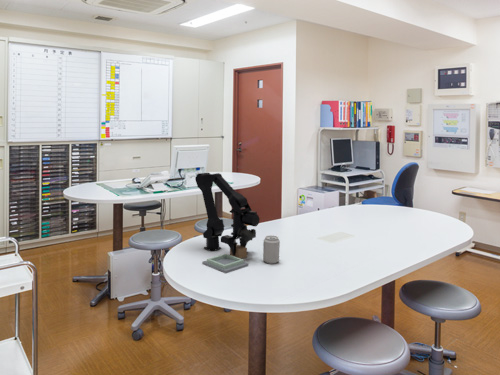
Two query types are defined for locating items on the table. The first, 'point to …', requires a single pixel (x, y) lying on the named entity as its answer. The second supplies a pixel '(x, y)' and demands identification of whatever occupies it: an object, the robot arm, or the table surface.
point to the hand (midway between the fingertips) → (238, 253)
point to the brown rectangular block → (240, 252)
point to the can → (271, 249)
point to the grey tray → (225, 263)
